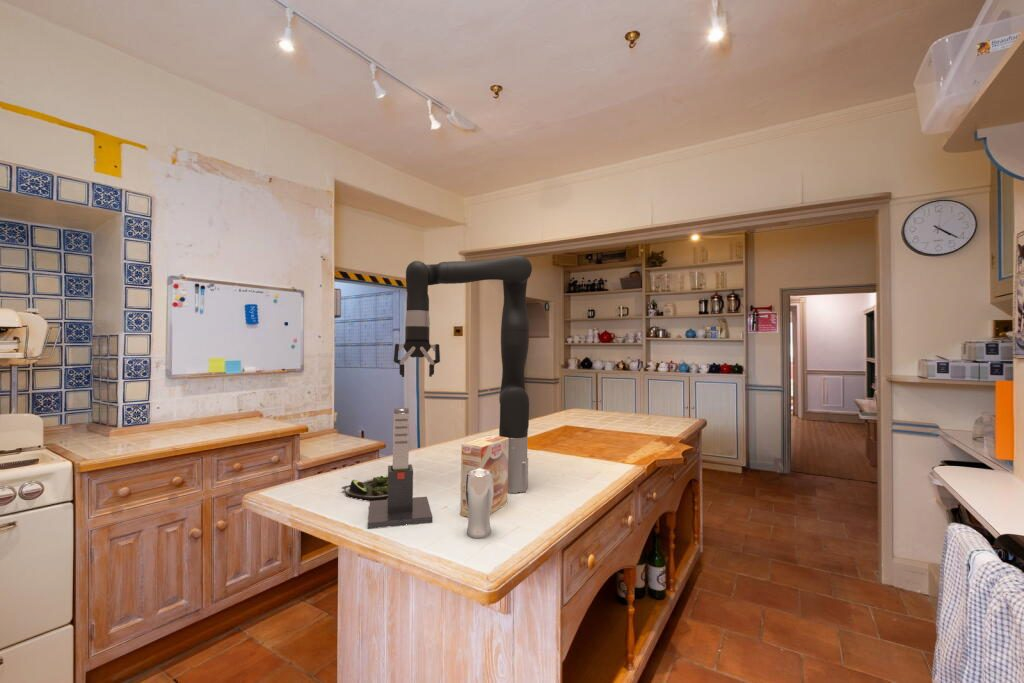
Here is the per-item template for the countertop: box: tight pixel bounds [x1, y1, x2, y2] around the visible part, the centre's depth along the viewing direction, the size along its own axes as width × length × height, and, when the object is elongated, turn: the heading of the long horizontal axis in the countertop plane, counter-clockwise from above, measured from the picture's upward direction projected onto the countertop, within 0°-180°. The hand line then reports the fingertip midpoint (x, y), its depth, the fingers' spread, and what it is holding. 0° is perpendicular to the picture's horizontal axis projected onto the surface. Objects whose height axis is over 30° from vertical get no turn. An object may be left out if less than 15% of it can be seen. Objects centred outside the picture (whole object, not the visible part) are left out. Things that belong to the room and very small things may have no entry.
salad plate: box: [340, 474, 388, 502], centre depth 141 cm, size 19×18×5 cm
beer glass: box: [465, 469, 494, 539], centre depth 110 cm, size 7×7×15 cm
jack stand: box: [367, 463, 433, 529], centre depth 121 cm, size 16×16×12 cm
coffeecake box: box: [459, 434, 509, 518], centre depth 126 cm, size 15×7×20 cm, turn 151°
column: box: [392, 407, 410, 471], centre depth 121 cm, size 4×4×21 cm
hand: (416, 376), depth 141 cm, fingers open, 8 cm apart
